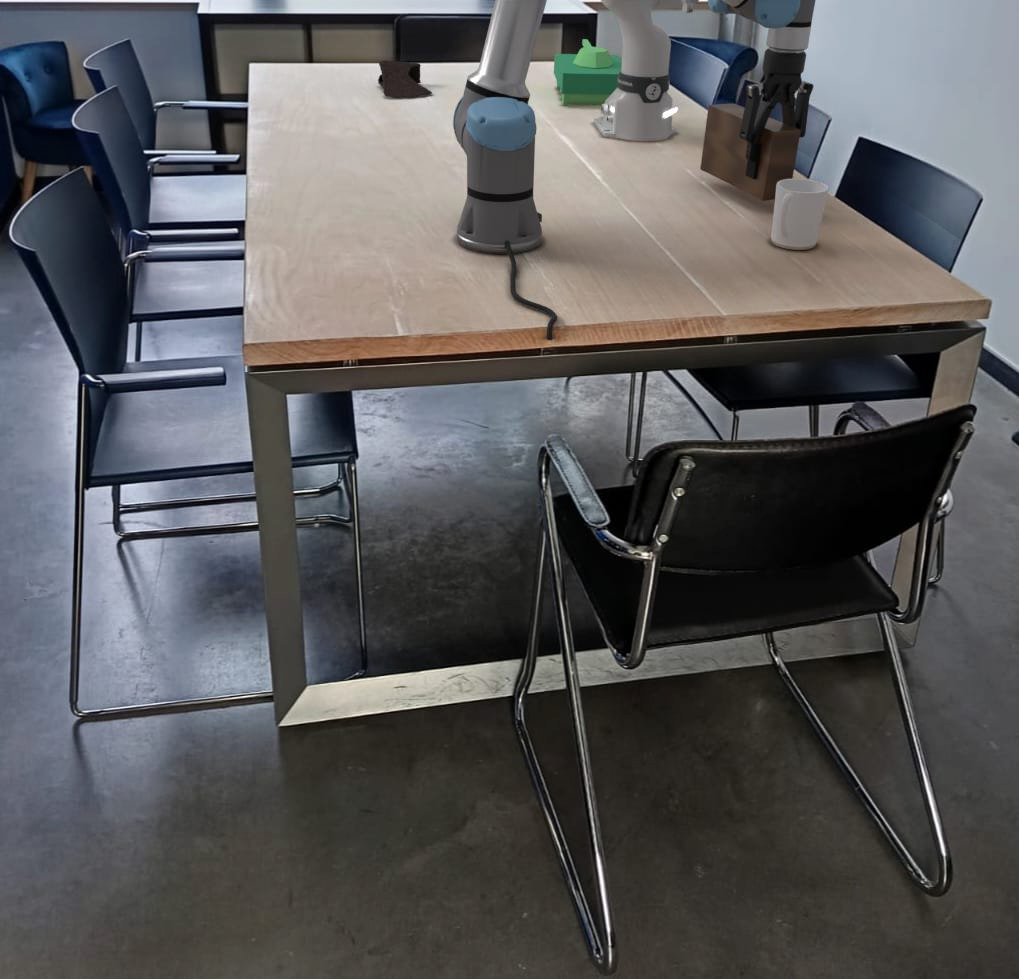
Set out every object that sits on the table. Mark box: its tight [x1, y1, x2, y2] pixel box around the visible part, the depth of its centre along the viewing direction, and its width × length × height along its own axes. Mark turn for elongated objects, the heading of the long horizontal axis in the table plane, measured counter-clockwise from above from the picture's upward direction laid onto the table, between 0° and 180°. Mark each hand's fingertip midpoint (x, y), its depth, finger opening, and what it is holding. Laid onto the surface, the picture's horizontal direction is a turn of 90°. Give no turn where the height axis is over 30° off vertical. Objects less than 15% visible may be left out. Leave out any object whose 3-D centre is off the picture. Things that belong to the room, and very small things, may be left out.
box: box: [700, 102, 801, 202], centre depth 216 cm, size 23×6×13 cm, turn 23°
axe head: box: [377, 59, 433, 99], centre depth 299 cm, size 18×8×15 cm
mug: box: [770, 178, 829, 251], centre depth 194 cm, size 11×9×10 cm
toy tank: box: [553, 38, 622, 106], centre depth 299 cm, size 18×12×35 cm
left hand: (765, 175), depth 212 cm, fingers closed on box, 6 cm apart
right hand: (707, 11), depth 224 cm, fingers open, 8 cm apart
